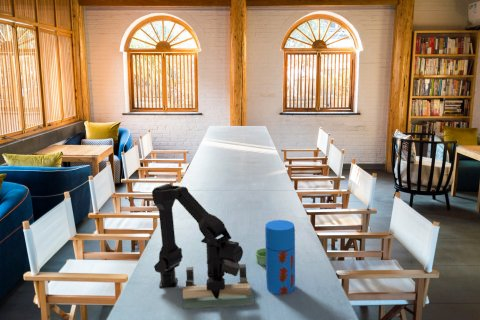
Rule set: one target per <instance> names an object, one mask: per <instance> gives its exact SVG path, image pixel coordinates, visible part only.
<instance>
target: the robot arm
mask: <svg viewBox="0 0 480 320" xmlns="http://www.w3.org/2000/svg"><path fill="white" fill-rule="evenodd" d="M151 196H152V200H153V204H154V205H155V207H157V209H158V216H159V225H160V234H161V235H160V236H161V243H162V245H161V248H160V251H159V253H158V262H157V263H155V265H154V266H153V268H154V270H155V272H156V273H159V275H160V281H159V285H158V287H159V288H170V287H171V288H173V287H177V285H178V284H177V283H178V277H176V268H177V267H180V264H181V262H182V260H183V250H182V247H179V246H178V244H177V243H176V235H175V225H174V214H173V206H174V204H175V201H177V202H179V204H180V205H181V206H182V207H183V208H184V209H185V210H186V211H187V213H188V214H189V215H190V216H191V217H192V218H193V219H194V221H196V223H197V225H198V229H199V231H200V233H201V234H202V236H203V239H201V240H200V242H201V243H203V244H206V246H205V247H206V267H207V272H206V273H207V274H206V275H207V277H208V278H207V279H206V285H207V290H208V291H209V290H211V292H212V293H213V295H214V297H215V298H216V299H217V298H218V297H219V292H220V290H224V289H225V285H226V279H225V278H224V276H225V274H229V275H232V276H234V277H237V276H238V274H239V269H240V266H239V264H240V261H241V260H242V258H243V256H244V255H243V254H244V250H243V247H242V246H241V245H240V243H239V241H234V240H233V241H232V240H231V239H232V236H231V235H230V233H229V231H228V229H227V227H226V226H225V225H226V224H225V223H224V221H222V220H221V219H220V218H218V217H217V215H214V214H211V213H209V212H208V211H207V210H206V209H205V208H204V207H203V206H202V205H201V204H200V203H199V201H198V200H197V199H196V198H195V197H194V196H193V195H192V194H191V193H190V192H189V189H188V188H187V187H186V186H179V185H172V184H171V183H166V184H162V185H159V186H157V187H155V188H153V190H152V192H151ZM220 236H221V237H220ZM218 237H219V238H218Z"/></svg>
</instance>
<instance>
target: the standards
mask: <svg viewBox="0 0 480 320" xmlns="http://www.w3.org/2000/svg"><path fill="white" fill-rule="evenodd" d="M239 266H240V269H239V271H238V274H239V281H237V284H245V283H249V281H248V277H247V265H246V264H245V263H241V264H240V263H239ZM185 271H186V272H185V273H186V280H185V287H187V286H197V284H195V274H194V273H195V272H194V266H187V267H186V269H185Z"/></svg>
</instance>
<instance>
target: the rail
mask: <svg viewBox="0 0 480 320" xmlns="http://www.w3.org/2000/svg"><path fill="white" fill-rule="evenodd" d="M250 291H251V283H249V282H248V283H245V284H238V283H229V284H227V283H225V289H224V290H220V292H219V297H222V296H241V295H251V293H250ZM203 297H214V295H213V293H212V292H211V290H209V291H208V290H207V284H206V285H196V286H187V287H186V286H183V287H182V299H183V300H184V299H185V298H203Z"/></svg>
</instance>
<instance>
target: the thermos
mask: <svg viewBox="0 0 480 320" xmlns="http://www.w3.org/2000/svg"><path fill="white" fill-rule="evenodd" d="M264 230H265V231H264V233H265V238H264V239H265V248H266V266H265V277H266V278H265V279H266V289H267V291H268V292H270V293H271V294H275V295H288V294H291V293H293V292H294V291H295V288H296V229H295V224H294V222H292V221H289V220H284V219H276V220H270V221H267V223H266V224H265V228H264Z"/></svg>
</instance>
